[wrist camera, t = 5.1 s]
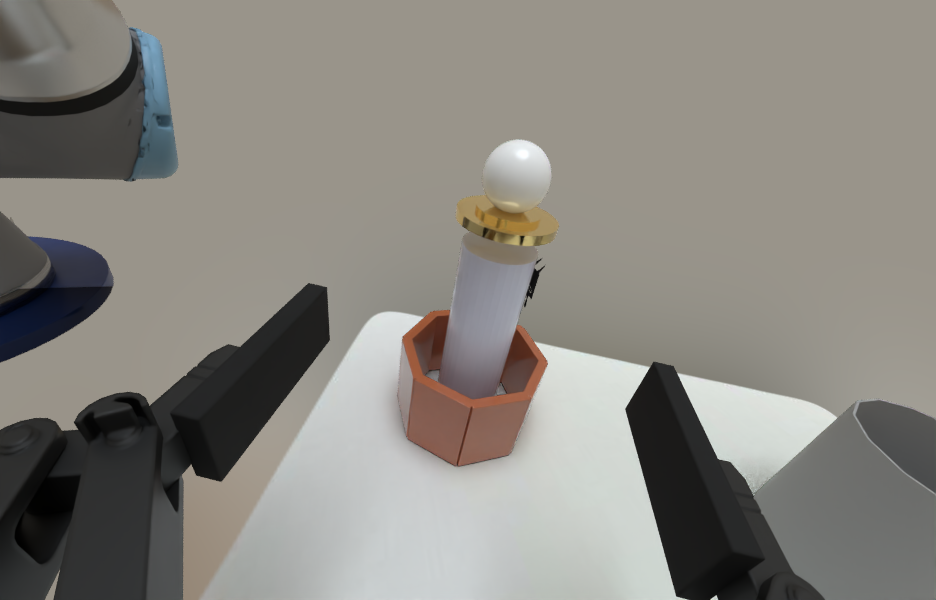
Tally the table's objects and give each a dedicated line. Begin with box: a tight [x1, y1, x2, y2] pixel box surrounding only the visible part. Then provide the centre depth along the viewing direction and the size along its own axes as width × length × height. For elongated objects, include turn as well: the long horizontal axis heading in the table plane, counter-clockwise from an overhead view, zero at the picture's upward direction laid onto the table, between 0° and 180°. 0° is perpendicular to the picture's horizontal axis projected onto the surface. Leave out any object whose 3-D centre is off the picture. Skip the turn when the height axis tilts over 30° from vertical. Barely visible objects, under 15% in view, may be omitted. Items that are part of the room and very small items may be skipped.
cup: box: [754, 399, 936, 600], centre depth 21 cm, size 8×8×10 cm
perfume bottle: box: [438, 139, 559, 399], centre depth 24 cm, size 6×6×20 cm
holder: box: [397, 310, 548, 466], centre depth 28 cm, size 10×10×6 cm
